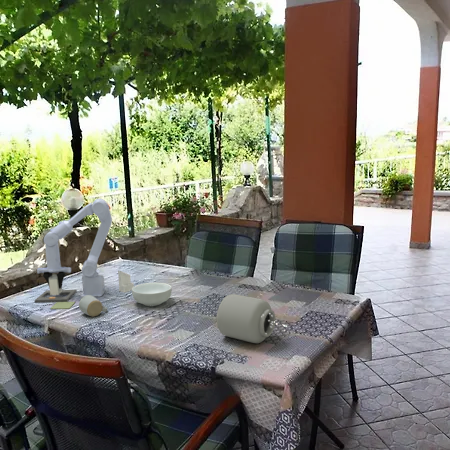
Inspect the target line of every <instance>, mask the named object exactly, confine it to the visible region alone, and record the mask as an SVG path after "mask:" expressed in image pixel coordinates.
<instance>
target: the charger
mask: <svg viewBox="0 0 450 450" xmlns="http://www.w3.org/2000/svg"><path fill="white" fill-rule="evenodd" d="M49 287H50V288H49ZM48 288H49V290H50V295H49V296H60V295H59V294H60V293H61V292H62V290H63V288H61V289H59V285H58V278H57V274H52V276H50V277H49V285H48Z"/></svg>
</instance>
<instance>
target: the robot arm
mask: <svg viewBox="0 0 450 450" xmlns="http://www.w3.org/2000/svg"><path fill="white" fill-rule="evenodd" d="M111 214H112V213H111V210H110V206H109V205H108V203H107V202H106V200H105V199H102V198H96V199H95V200H94V201H93V202H90V203H88V204H87V205H85V206H83V207H82V208H80V210H79V211H77V213H75V214H74V215H73V216H72V217H70V219H68V220H64V219H63V220H61V221H59V222H58V224H57V225H56V226H55V227H53V228H51V229H50V230H49V232H47V233H46V234H45V235H44V237H43V242H44V244H45V260H46V267H38V268H37V269H36V272H37V274H43V275H42V277H43V278H44V280H45V281H46V283H47V286H48V288H49V289H50V287H49V277H50V276H52V275H53V274H54V273H56V275H57V278H58V285H59V289H61V288H62V287H63V282H64V278H65V276H66V274H67V273H69V274H70V273H71V272H72V267H69V266H68V267H66V266H62V264H61V255H60V248H59V241H60V240H62V239H64V238H65V237H66V236H67V235H69V234H70V233H71V232H72V231H73V229H74V228H73V226H74V225H76V224H77V223H79V222H80V221H81V220H83V219H84V218H85V217H87V216H93V215H96V216H97V218H98V220H99V221H100V225H99V227H98V230H97V232H96V235H95V238H94V240H93V244H92V246H91V249H90V251H89V254H88V257H87V259H86V260H85V261H84V262H83V264H82V267H81V274H82V275H81V283H82V294H80V298H82V297H84V296H86V295H92V296H94V297H95V298H98V297H102V296H103V295H104V293H105V292H106V290H105V289H106V286H105V278H104V275H102V274H99V273H98V272H97V269H98V261H99V257H100V256H101V252H102V250H103V247H104V244H105V241H106V238H107V237H108V235H109V234H108V233H109V231H110V228H111V226H112V223H113V218H112V215H111ZM62 289H63V288H62Z"/></svg>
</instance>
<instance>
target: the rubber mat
mask: <svg viewBox="0 0 450 450" xmlns="http://www.w3.org/2000/svg"><path fill="white" fill-rule="evenodd" d="M75 304H76V301H67V302H54V304H53V305H52V306H51V307H50V308H49V309H50V310H71V308H72V307H73V306H74V305H75Z"/></svg>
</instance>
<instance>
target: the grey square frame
mask: <svg viewBox="0 0 450 450" xmlns="http://www.w3.org/2000/svg"><path fill="white" fill-rule="evenodd" d="M77 292H78V291H77V289H62V292H61V293H60V294H59V295H58V296H51V295H50V289H48V290H47V289H46V290H45V291H44V292H42V294H39V296H38V297H36V298H35V299H34V303H35V304H38V303H41V304H43V303H46V304H47V303H56V302H69V300H70V299H72V298H73V297H74V295H75V294H77Z"/></svg>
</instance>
